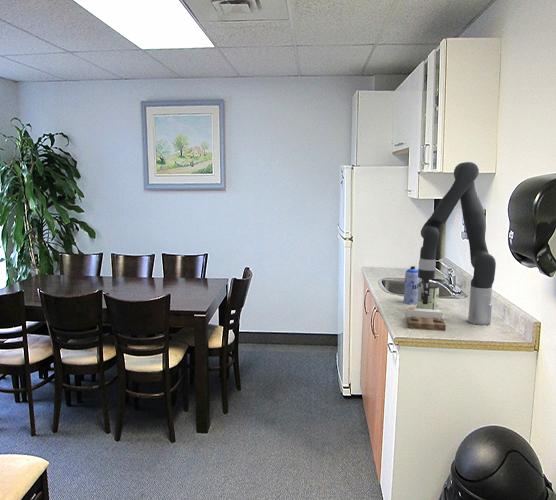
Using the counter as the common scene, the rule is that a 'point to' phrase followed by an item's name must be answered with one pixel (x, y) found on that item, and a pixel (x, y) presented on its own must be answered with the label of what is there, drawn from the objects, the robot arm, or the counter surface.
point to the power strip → (424, 313)
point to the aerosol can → (411, 286)
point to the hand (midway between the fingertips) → (424, 301)
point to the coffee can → (429, 297)
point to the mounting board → (426, 323)
